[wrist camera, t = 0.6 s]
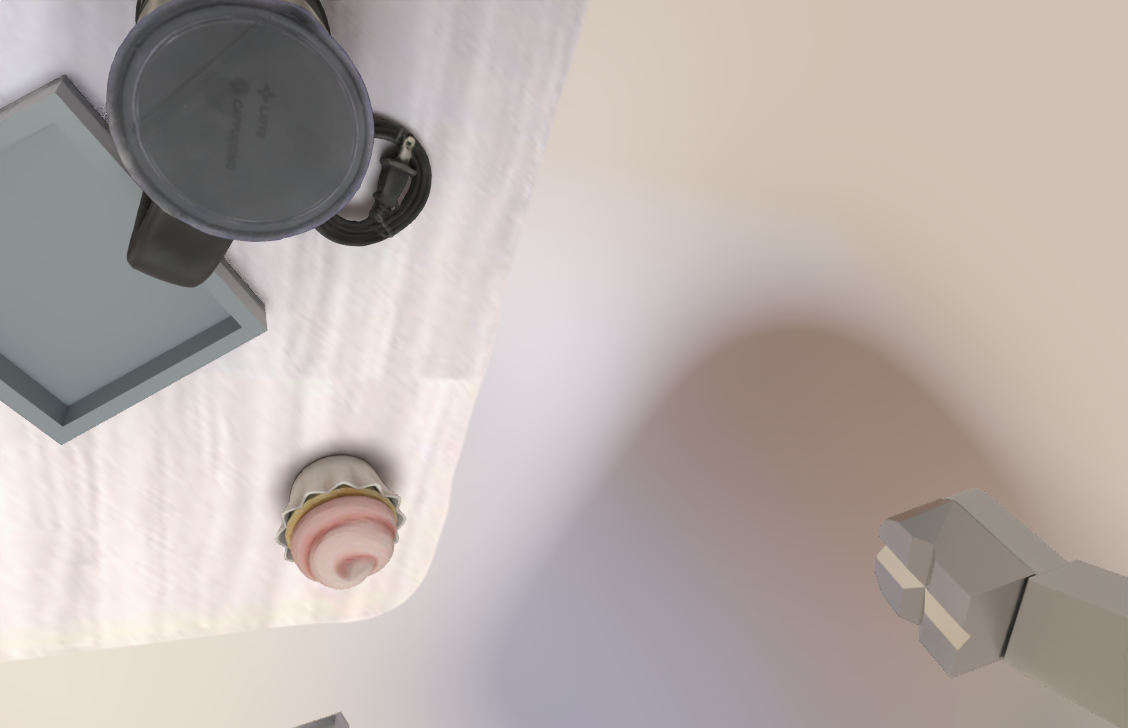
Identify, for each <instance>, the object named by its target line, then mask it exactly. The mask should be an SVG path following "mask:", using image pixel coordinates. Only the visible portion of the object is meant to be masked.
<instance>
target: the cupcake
mask: <svg viewBox="0 0 1128 728" xmlns="http://www.w3.org/2000/svg"><path fill="white" fill-rule="evenodd" d="M400 503H401V497H400V496H398V495H397V494H395V493H394V492H392V491H391V490H389V489H388V488H386V486H385V485H384V484H383V482H382V481H381V480H380V478H379V477H378V475H377V474H376V472H375V471H374V469H373V468H372V467H371V466H370V465H369V464H368V463H367V462H365V461H363V460H361V459H359V458H356V457H352V456H347V455H337V456H330V457H325V458H322V459H320V460H317V461H315V462H313V463H312V464H310V465H308V466H307V467H306V468H304V469H303V471H302V472H301V473H300V474H299V475H298V477H297V478H296V480H295V482H294V484H293V485H292V490H291V494H290V501H289V504H288V505H287V507H286V508H285V510H284V511H283V512H282V514H281V519H282V522H283V523H282V525H281V527H280V529H279V531H278V533H277V535H276V537H275V538H274V539H275V541H276V542H277V543H278V544H280V545H282V546H284V547H285V548H286V549H285V553H284V558H285V560H287V561H290V562H295V563H296V565H297V566H298V568H299V569H300V571H301V572H302V573H303V574H304V575H305V576H306V577H307V578H309V579H311V580H313V581H317V582H320V583H321V584H323V585H325V586H327V587H330V588H334V589H348V588H351V587H354V586H356V585H358V584H360V583H361V582H362V581H364V580H365V578H366V577H368V576H370V575H372V574H374V573H376V572H378V571H379V570H381V569H382V568H383V567H384V566H385V565H386V564H387V563H388V562H389V561H390V559H391V557H392V555H393V551H394V544H396V543H398V541H399V537H398V533H397V530H398V529H399V528H400V527H401V526H402V525H404V523H405V521H406V517H405V515H404V514H403V513H402V512H401V511H400V510H399V506H400Z"/></svg>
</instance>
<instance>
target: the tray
mask: <svg viewBox="0 0 1128 728" xmlns="http://www.w3.org/2000/svg"><path fill="white" fill-rule="evenodd" d="M142 192H143V190H142V189H141V188H140V187H139V186H138V184H137V183H136V182H135V181H134V179H133V178H132V177H131V176H130V174H129V172H128V171H127V169H126V167H125V166H124V164H123V163H122V160H121V158H120V156H119V154H118V152H117V148H116V145H115V143H114V141H113V139H112V137H111V133H110V128H109V125H108V124H107V123H106V122H105V120H104V119H103V118H102V117H101V116H100V115H99V113H98V112H97V111H96V110H95V109H94V108H93V107H92V105H91V104H90V103H89V102H88V101H87V100H86V98H85V97H84V96H83V95H82V94H81V93H80V91H79V90H78V89H77V88H76V87H75V86H74V85H73V83H72V82H71V81H70V80H69V79H68V78H67V76H66V75H63V76H61V77H59V78H58V79H56V80H54V81H52V82H50V83H48V84H46V85H45V86H43V87H41V88H39V89H37V90H35V91H33V92H32V93H30V94H28V95H26V96H24V97H22V98H20V99H19V100H17V101H15V102H13V103H11V104H9V105H7V106H6V107H4V108H2V109H0V400H1V401H2V402H3V403H5V404H6V405H7V406H9V407H10V408H11V409H13V410H14V411H16V412H17V413H18V414H20V415H21V416H22V417H24V418H25V419H26V420H28V421H29V422H30V423H32V424H33V425H35V426H36V427H37V428H39V429H40V430H41V431H43V432H44V433H45V434H47V435H48V436H50V437H51V438H52V439H54V440H55V441H56V442H58V443H59V444H60V445H63V444H64V443H66V442H68V441H70V440H72V439H73V438H75V437H77V436H79V435H81V434H82V433H84V432H86V431H88V430H90V429H91V428H93V427H95V426H97V425H99V424H100V423H102V422H104V421H106V420H108V419H109V418H111V417H113V416H115V415H117V414H118V413H120V412H122V411H124V410H126V409H127V408H129V407H131V406H133V405H135V404H136V403H138V402H140V401H142V400H144V399H145V398H147V397H149V396H151V395H153V394H154V393H156V392H158V391H160V390H162V389H163V388H165V387H167V386H169V385H171V384H172V383H174V382H176V381H178V380H180V379H181V378H183V377H185V376H187V375H189V374H190V373H192V372H194V371H196V370H197V369H199V368H201V367H203V366H205V365H206V364H208V363H210V362H212V361H214V360H215V359H217V358H219V357H221V356H223V355H224V354H226V353H228V352H230V351H232V350H233V349H235V348H237V347H239V346H241V345H242V344H244V343H246V342H248V341H250V340H251V339H253V338H255V337H257V336H259V335H260V334H262V333H264V332H266V331H267V323H266V313H265V305H264V304H263V303H262V302H261V301H260V299H259V298H258V297H257V296H256V295H255V294H254V293H253V291H252V290H251V289H250V288H249V287H248V286H247V284H246V283H245V282H244V281H243V280H242V279H241V277H240V276H239V275H238V274H237V273H236V272H235V271H234V269H233V268H232V267H231V266H230V265H229V264H228V262H227V261H226V260H225V259H224V258H222V260H221V262H220V263H219V265H218V266H217V267H216V269H215V270H214V272H213V273H212V274H211V275H210V277H209V278H208V279H207V280H206V281H204V282H203V283H202V284H200V285H198V286H197V287H194V288H189V287H182V286H178V285H174V284H170V283H168V282H165V281H162V280H159V279H156V278H154V277H151V276H149V275H146V274H144V273H142V272H140V271H138V270H135V269H132V267H131V266H130V264H129V263H128V262H127V251H128V247H129V243H130V238H131V235H132V232H133V228H134V224H135V220H136V216H137V211H138V208H139V205H140V200H141V197H142Z"/></svg>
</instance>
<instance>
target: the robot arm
mask: <svg viewBox="0 0 1128 728" xmlns="http://www.w3.org/2000/svg"><path fill="white" fill-rule="evenodd" d="M879 538H880V539H881V540H882V541H883V542H884V543H885V546H884V547H883V548H882V550H881V551H880V553H879V554H878V555H877V557H876V563H875V575H876V578H877V581H878V585H879V588H880V590H881V592H882V594H883V596H884V597H885V599H886V601H887V602H888V604H889V605H890V606H891V607H892V609H893V610H894V611H895V612H896V614H897V615H898V616H899V617H901V618H903V619H905V620H908V621H910V622H912V623H914V624H916V625H918V630H919V641H920V643H921V644H922V645H923V646H924V647H925V648H926V650H927V651H928V652H929V653H930V654H931V656H932V657H933V658H934V659H935V660H936V661H937V662H938V664H939V665H940V666H941V667H942V668H943V670H944V671H945V672H946V673H947V674H948V676H949V677H950V678H953V677H956V676H959V675H962V674H964V673H967V672H970V671H973V670H975V669H978V668H981V667H984V666H986V665H989V664H992V663H995V662H997V661H1000V660H1003V659H1004V660H1003V664H1005V665H1007V666H1009V667H1011V668H1012V669H1014V670H1016V671H1018V672H1020V673H1022V674H1023V675H1025V676H1027V677H1029V678H1031V679H1032V680H1034V681H1036V682H1038V683H1040V684H1042V685H1043V686H1045V687H1047V688H1049V689H1051V690H1052V691H1054V692H1056V693H1058V694H1060V695H1061V696H1063V697H1065V698H1067V699H1069V700H1071V701H1072V702H1074V703H1076V704H1078V705H1080V706H1081V707H1083V708H1085V709H1087V710H1089V711H1090V712H1092V713H1094V714H1096V715H1098V716H1100V717H1101V718H1103V719H1105V720H1107V721H1109V722H1111V723H1112V724H1114V725H1116V726H1118V727H1119V728H1128V577H1125V576H1122V575H1119V574H1116V573H1114V572H1111V571H1108V570H1105V569H1102V568H1099V567H1097V566H1094V565H1091V564H1088V563H1085V562H1082V561H1080V560H1075V561H1072V562H1067V561H1066V560H1065V559H1064V558H1063V557H1062V556H1060V555H1059V554H1058V553H1057V552H1056V551H1054V550H1053V549H1052V548H1051V547H1050V546H1049V545H1047V544H1046V543H1045V542H1044V541H1043V540H1041V539H1040V538H1039V537H1038V536H1037V535H1036V534H1034V533H1033V532H1032V531H1031V530H1030V529H1029V528H1027V527H1026V526H1025V525H1024V524H1023V523H1022V522H1020V521H1019V520H1018V519H1017V518H1016V517H1014V516H1013V515H1012V514H1011V513H1010V512H1009V511H1007V510H1006V509H1005V508H1004V507H1003V506H1002V505H1000V504H999V503H998V502H997V501H996V500H994V499H993V498H992V497H991V496H990V495H989V494H987V493H986V492H985V491H982V490H980V489H977V488H972V489H968V490H965V491H962V492H960V493H957V494H954V495H952V496H949V497H947V498H944V499H938V500H935V501H932V502H930V503H927V504H924V505H921V506H919V507H916V508H913V509H911V510H908V511H905V512H903V513H900V514H897V515H894V516H892V517H889V518H887V519H885V520H884V522H883V523H882V524H881V525H880V532H879ZM293 728H349V724H348V722H347V721H346V719H345V718H344V716H343V714H342V713H341V712H338V713H336V714H332V715H329V716H326V717H323V718H320V719H317V720H314V721H312V722H309V723H305V724H302V725H300V726H297V727H293Z"/></svg>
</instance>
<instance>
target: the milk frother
mask: <svg viewBox="0 0 1128 728" xmlns="http://www.w3.org/2000/svg"><path fill="white" fill-rule="evenodd" d="M106 111H107V117H108V123H109V128H110V133H111V137H112V139H113V141H114V143H115V145H116V148H117V152H118V154H119V156H120V158H121V160H122V163H123V164H124V166H125V167H126V169H127V171H128V172H129V174H130V176H131V177H132V178H133V179H134V181H135V182H136V183H137V184H138V186H139V187H140V188H141V189H142V190H143V192H142V197H141V200H140V205H139V208H138V211H137V216H136V220H135V224H134V228H133V232H132V235H131V238H130V243H129V247H128V251H127V262H128V263H129V264H130V266H131V267H132V269H135V270H138V271H140V272H142V273H144V274H146V275H149V276H151V277H154V278H156V279H159V280H162V281H165V282H168V283H170V284H174V285H178V286H182V287H189V288H194V287H197V286H198V285H200V284H202V283H203V282H204V281H206V280H207V279H208V278H209V277H210V275H211V274H212V273H213V272H214V270H215V269H216V267H217V266H218V265H219V263H220V262H221V260H222V258H223V257H224V255H225V253H226V252H227V250H228V248H229V247H230V245H231V243H232V241H233V240H240V241H250V242H261V241H275V240H281V239H283V238H287V237H291V236H294V235H298V234H301V233H304V232H307V231H310V230H312V229H314V228H315V229H316V230H317V231H318V232H319V233H320V234H321V235H323V236H324V237H326V238H328V239H329V240H331V241H333V242H336V243H338V244H342V245H348V246H366V245H370V244H374V243H378V242H380V241H383V240H385V239H387V238H390V237H393V236H394V235H396V234H397V233H398V232H400V231H401V230H403V229H404V228H405V227H407V226H408V225H409V224H410V223H412V221H413V220H415V219H416V217H417V216H418V215H419V213H420V212H421V211H422V209H423V208H424V206H425V204H426V201H427V199H428V197H429V193H430V188H431V178H432V174H431V167H430V164H429V159H428V156H427V154H426V152H425V150H424V149H423V147H422V146H421V145H420V143H419V142H418V141H417V139H416V138H415V137H414V136H413V135H412V134H410V133H409V132H408V131H406V130H405V129H404V128H402V127H400V126H397V125H395V124H393V123H391V122H388V121H386V120H383V119H380V118H374V117H373V113H372V108H371V104H370V99H369V96H368V93H367V89H366V87H365V85H364V82H363V80H362V78H361V76H360V74H359V72H358V70H357V69H356V67H355V65H354V64H353V62H352V61H351V59H350V58H349V56H348V55H347V53H346V52H345V50H344V49H343V48H342V47H341V46H340V45H339V44H338V43H337V42H336V41H335V40H334V39H333V38H332V37H331V34H330V29H329V25H328V21H327V17H326V15H325V11H324V9H323V7H322V5H321V3H320V1H319V0H137V5H136V25H135V26H134V27H133V28H132V30H131V31H130V32H129V34H128V35H127V37H126V38H125V40H124V41H123V43H122V44H121V46H120V47H119V49H118V51H117V53H116V55H115V58H114V61H113V63H112V66H111V69H110V72H109V78H108V84H107V97H106ZM374 138H379V139H384V140H387V141H391V142H393V143H394V144H395V145H397V146H398V156H397V157H396V158H393V159H390V158H381V159H380V163H381V164H382V170H381V173H380V176H379V181H378V187H377V191H376V192H375V193H373V197H374V198H375V203H374V205H373V207H372V209H371V210H370V212H369V217H368V218H366V219H365V220H362V221H360V222H358V221H349V220H346V219H343V218H342V217H340V216H338V215H337V213H338V212H339V211H340V210H342V209H343V208H344V207H345V205H346V204H347V203H348V202H349V201H350V200H351V198H352V197H353V196H354V195H355V193H356V192H357V191H358V189H359V188H360V186H361V183H362V180H363V179H364V176H365V174H366V172H367V169H368V166H369V162H370V159H371V155H372V148H373V144H374ZM409 176H410V177H411V178H412V180H411V185H410V188H409V190H408V192H407V194H406V195H405V197H404V199H403V201H402V202H401V204H400V205H398V204H399V203H398V201H397V199H398V197H399V196H400V194H401V192H402V191H403V189H404V187H405V185H406V183H407V180H408V177H409ZM393 206H395V209H394V210H391V208H392V207H393Z"/></svg>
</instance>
